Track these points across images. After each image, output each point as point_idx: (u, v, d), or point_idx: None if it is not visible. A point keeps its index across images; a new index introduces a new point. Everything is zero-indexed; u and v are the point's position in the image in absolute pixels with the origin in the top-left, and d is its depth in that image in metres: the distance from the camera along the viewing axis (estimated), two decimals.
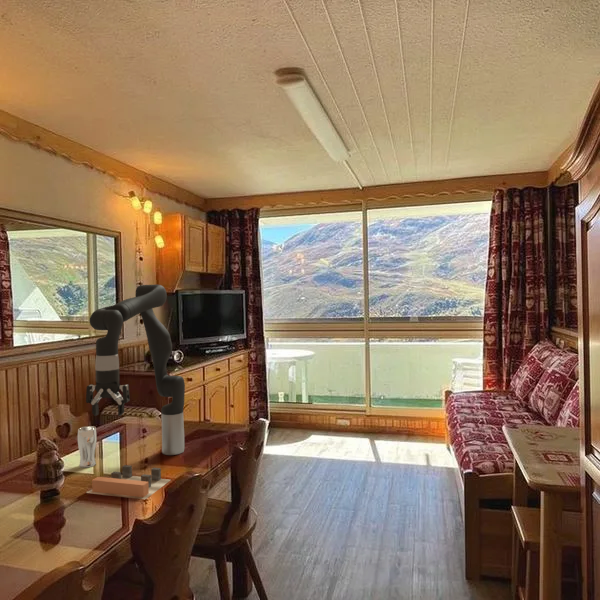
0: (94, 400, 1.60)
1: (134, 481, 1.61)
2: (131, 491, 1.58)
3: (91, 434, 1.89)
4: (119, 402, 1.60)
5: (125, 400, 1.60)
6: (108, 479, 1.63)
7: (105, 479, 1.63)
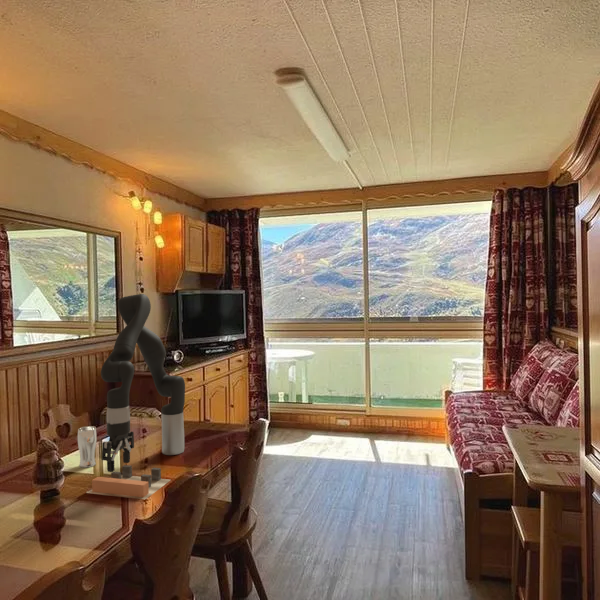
0: (114, 455, 1.57)
1: (134, 481, 1.61)
2: (131, 491, 1.58)
3: (91, 434, 1.89)
4: (129, 449, 1.65)
5: (133, 445, 1.67)
6: (108, 479, 1.63)
7: (105, 479, 1.63)
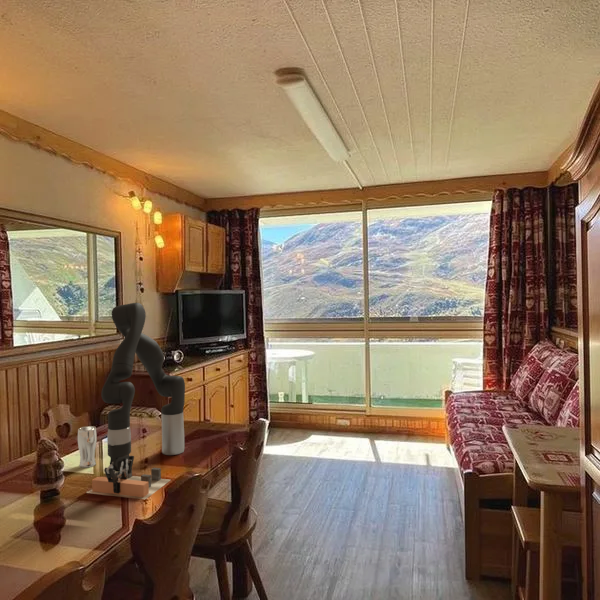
0: (119, 477, 1.59)
1: (134, 481, 1.61)
2: (131, 491, 1.59)
3: (91, 434, 1.89)
4: (126, 475, 1.63)
5: (130, 471, 1.65)
6: None
7: (105, 479, 1.63)
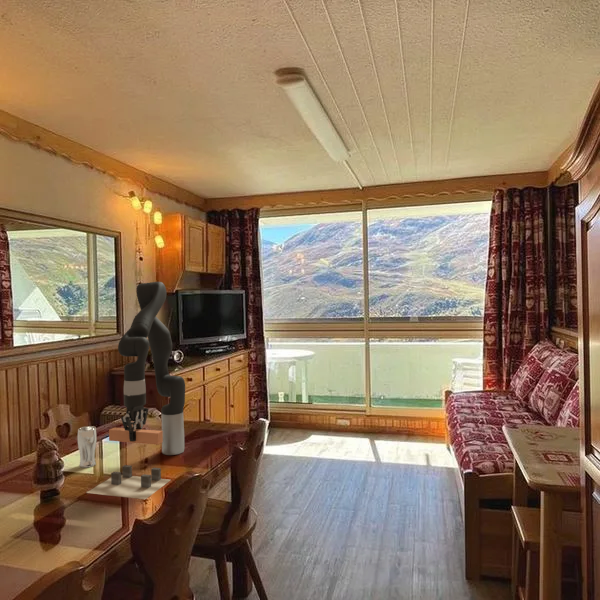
0: (134, 426, 1.68)
1: (149, 430, 1.70)
2: (146, 440, 1.68)
3: (91, 434, 1.89)
4: (141, 425, 1.72)
5: (144, 422, 1.74)
6: (124, 429, 1.72)
7: (121, 429, 1.72)
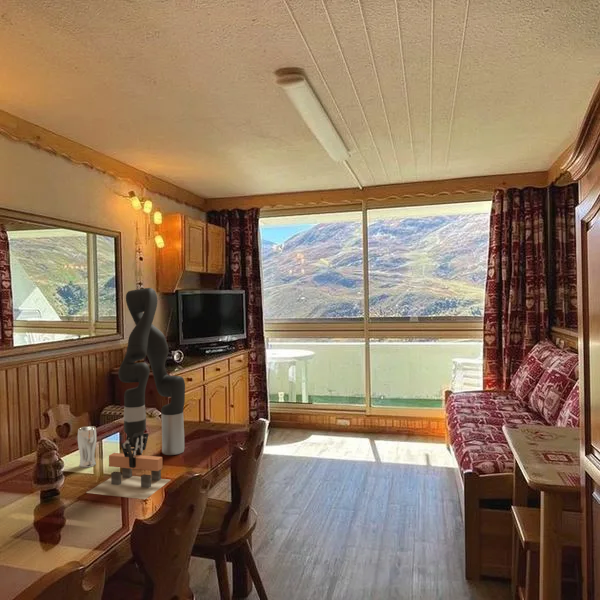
0: (134, 452, 1.68)
1: (149, 456, 1.70)
2: (146, 466, 1.68)
3: (91, 434, 1.89)
4: (141, 451, 1.72)
5: (144, 447, 1.74)
6: None
7: (121, 454, 1.72)
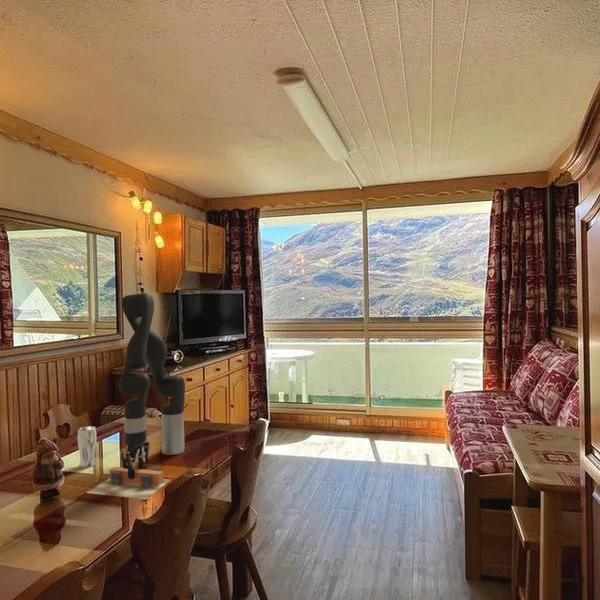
0: (133, 464, 1.67)
1: (149, 471, 1.70)
2: None
3: (91, 434, 1.89)
4: (144, 459, 1.73)
5: (147, 456, 1.75)
6: (125, 469, 1.72)
7: (122, 469, 1.72)
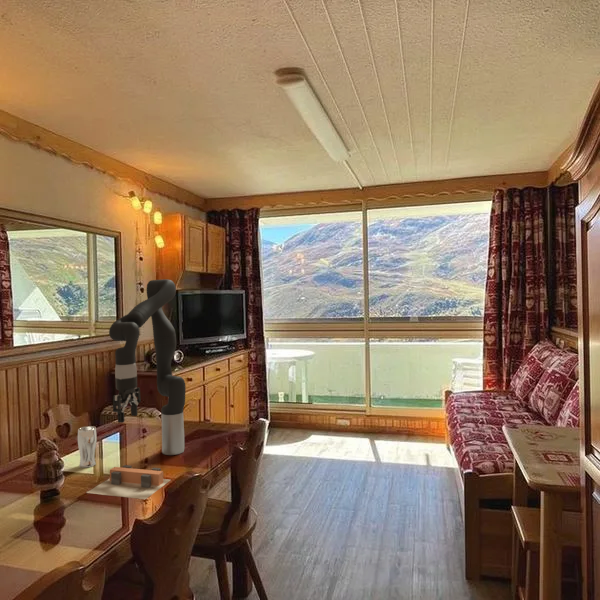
0: (123, 407, 1.71)
1: (149, 471, 1.70)
2: None
3: (91, 434, 1.89)
4: (137, 403, 1.79)
5: (140, 400, 1.81)
6: (125, 469, 1.72)
7: (122, 469, 1.72)
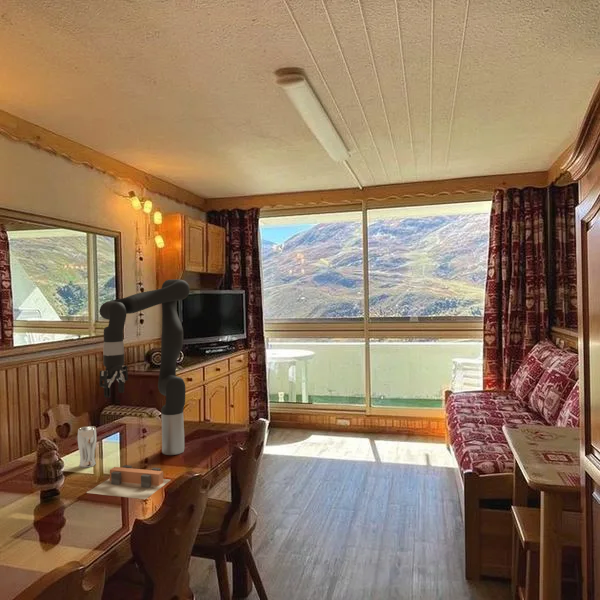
0: (110, 383, 1.78)
1: (149, 471, 1.70)
2: None
3: (91, 434, 1.89)
4: (124, 380, 1.86)
5: (127, 378, 1.89)
6: (125, 469, 1.72)
7: (122, 469, 1.72)
